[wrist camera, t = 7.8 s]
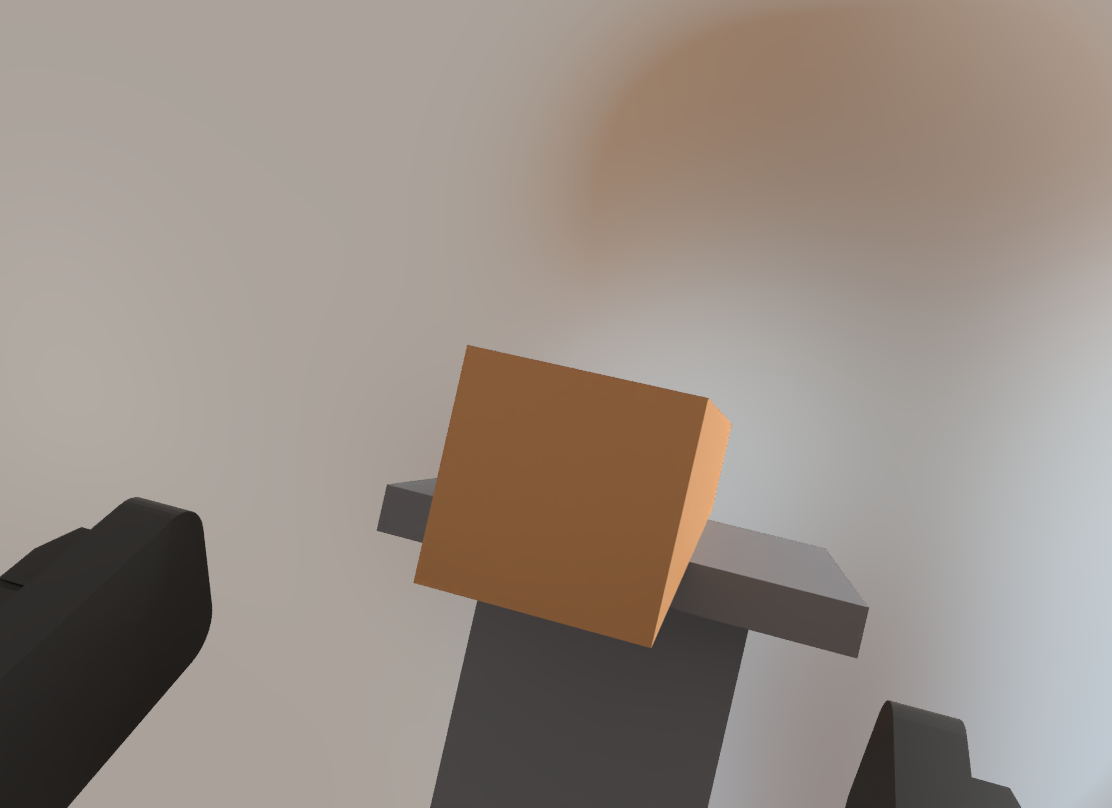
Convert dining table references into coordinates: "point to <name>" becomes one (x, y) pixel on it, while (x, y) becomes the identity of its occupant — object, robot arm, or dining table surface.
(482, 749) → the tall stand
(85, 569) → the robot arm
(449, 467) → the block
